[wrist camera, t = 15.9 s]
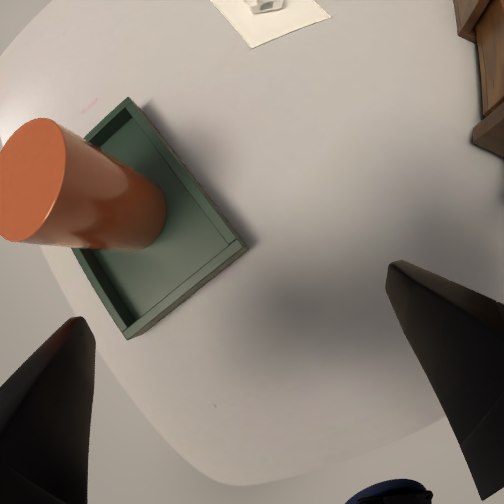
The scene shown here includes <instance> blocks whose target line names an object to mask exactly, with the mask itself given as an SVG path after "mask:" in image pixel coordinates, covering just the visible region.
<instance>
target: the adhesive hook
mask: <svg viewBox="0 0 504 504" xmlns="http://www.w3.org/2000/svg"><path fill="white" fill-rule="evenodd" d="M243 2H244V3H246V4H247V5H249V11H250V12H251V14H252V15H254V14H258V13H263V12H270V11H275V10H279V9H281V8H282V7H283V4H284V2H285V0H243Z"/></svg>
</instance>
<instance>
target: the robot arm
mask: <svg viewBox="0 0 504 504" xmlns="http://www.w3.org/2000/svg"><path fill="white" fill-rule="evenodd" d="M385 287H386V292H387V295H388V297H389V299H390V302H391V304H392V306H393V309H394V311H395V313H396V315H397V318H398V320H399V323H400V325H401V327H402V329H403V332H404V334H405V336H406V338H407V339H408V341H409V343H410V345H411V347H412V349H413V350H414V352H415V354H416V356H417V358H418V360H419V362H420V364H421V366H422V368H423V369H424V371H425V373H426V375H427V377H428V379H429V381H430V383H431V385H432V387H433V389H434V391H435V393H436V395H437V397H438V399H439V401H440V403H441V406H442V408H443V410H444V412H445V414H446V416H447V418H448V420H449V422H450V425H451V427H452V429H453V431H454V434H455V436H456V438H457V440H458V443H459V445H460V448H461V450H462V452H463V455H464V457H465V460H466V462H467V464H468V467H469V469H470V472H471V474H472V477H473V479H474V482H475V485H476V487H477V490H478V493H479V495H480V498H481V500H485V499H486V498H488V497H489V496H491V495H493V494H494V493H496V492H497V491H499V490H500V489H502V488H503V487H504V304H502V303H500V302H496V301H495V300H493V299H491V298H489V297H487V296H484V295H482V294H480V293H478V292H475V291H473V290H471V289H469V288H466V287H464V286H462V285H460V284H457V283H455V282H453V281H450V280H448V279H446V278H443V277H441V276H439V275H436V274H434V273H432V272H429V271H427V270H425V269H422V268H420V267H417V266H415V265H413V264H410V263H408V262H405V261H403V260H400V261H395V262H391V263H390V264H389V266H388V272H387V278H386V286H385ZM95 349H96V342H95V338H94V335H93V333H92V332H91V330H90V328H89V326H88V324H87V322H86V320H85V319H84V318H83V317H81V316H80V317H73V318H70V319H68V320H67V321H66V322H65V323H64V324H63V325H62V326H61V327H60V328H59V329H58V330H57V331H56V332H55V333H54V334H53V335H52V336H51V337H49V338H48V339H47V340H46V341H45V342H44V343H43V344H42V345H41V346H40V347H39V348H38V349H37V350H36V351H35V352H34V353H33V354H32V355H31V356H30V357H29V358H28V359H27V360H26V361H25V362H24V363H23V364H22V365H21V367H19V368H18V369H17V370H16V371H15V372H14V374H13V375H11V376H10V378H9V379H8V380H7V381H6V382H5V383H4V384H3V385H2V386H1V387H0V504H87V484H88V453H89V437H90V423H91V413H92V403H93V394H94V376H95V375H94V374H95ZM427 495H428V496H427ZM432 497H433V493H432V492H431V491H430V490H427V491H421V492H414V493H407V494H399V495H390V496H379V497H365V498H360V499H358V500H357V502H356V504H361V503H364V504H430V502H431V499H432Z"/></svg>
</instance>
